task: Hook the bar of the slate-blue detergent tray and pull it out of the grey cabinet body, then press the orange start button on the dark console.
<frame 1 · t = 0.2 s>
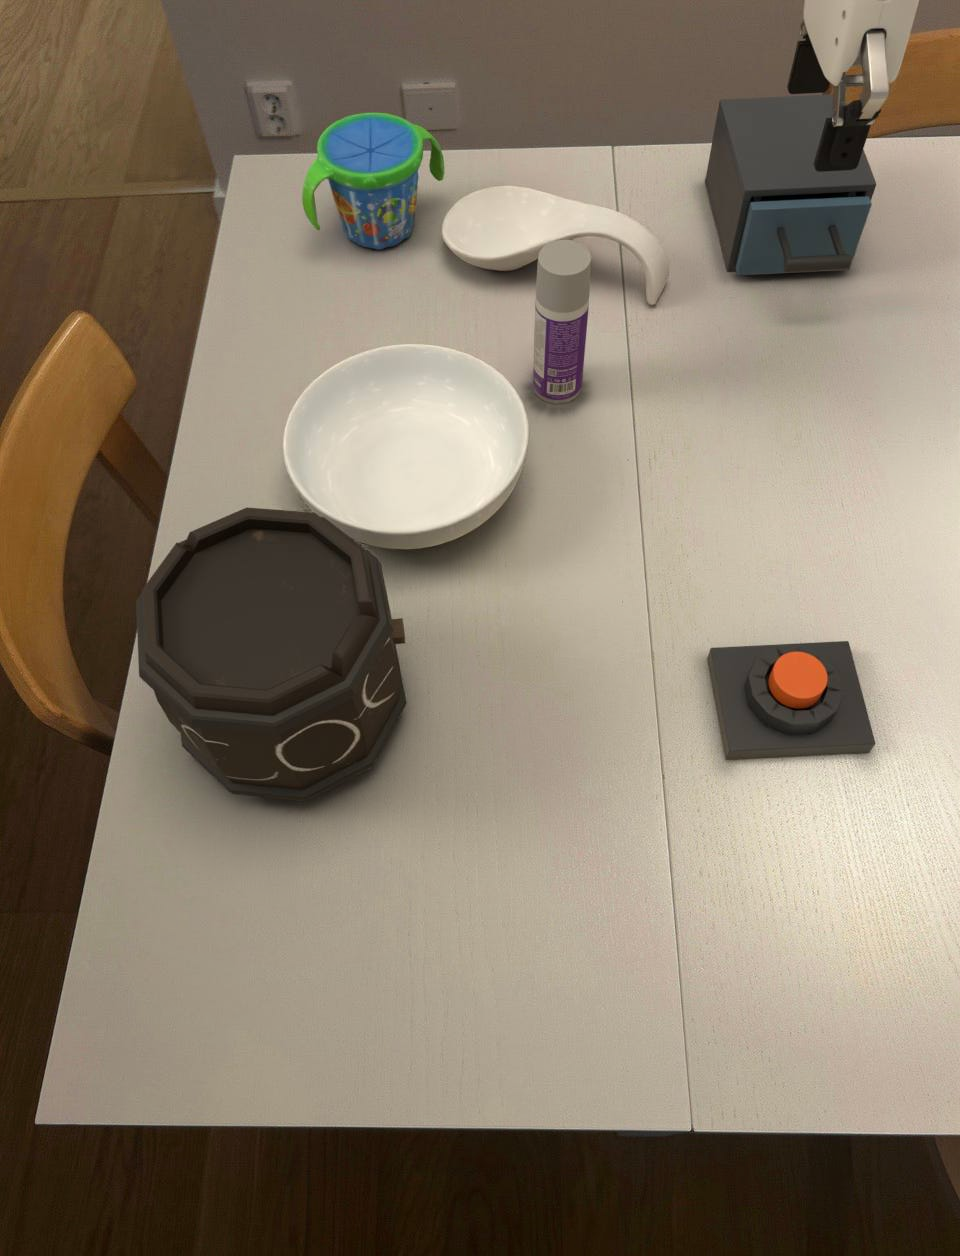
hand: (820, 128, 82), 24 cm above the table, tool pointing down, fingers open, 9 cm apart
console: (785, 704, 83), on the table
start button: (797, 680, 80), point 4 cm above the table, slide at 0.1 cm
grey cabinet body: (774, 222, 113), on the table
serving bowl: (412, 484, 96), on the table
container: (557, 387, 101), on the table
detergent tray: (794, 215, 106), point 5 cm above the table, slide at 0.5 cm
spoon rest: (553, 266, 110), on the table
dark grey faceted cylinder: (302, 707, 84), on the table
snack cup: (380, 230, 114), on the table
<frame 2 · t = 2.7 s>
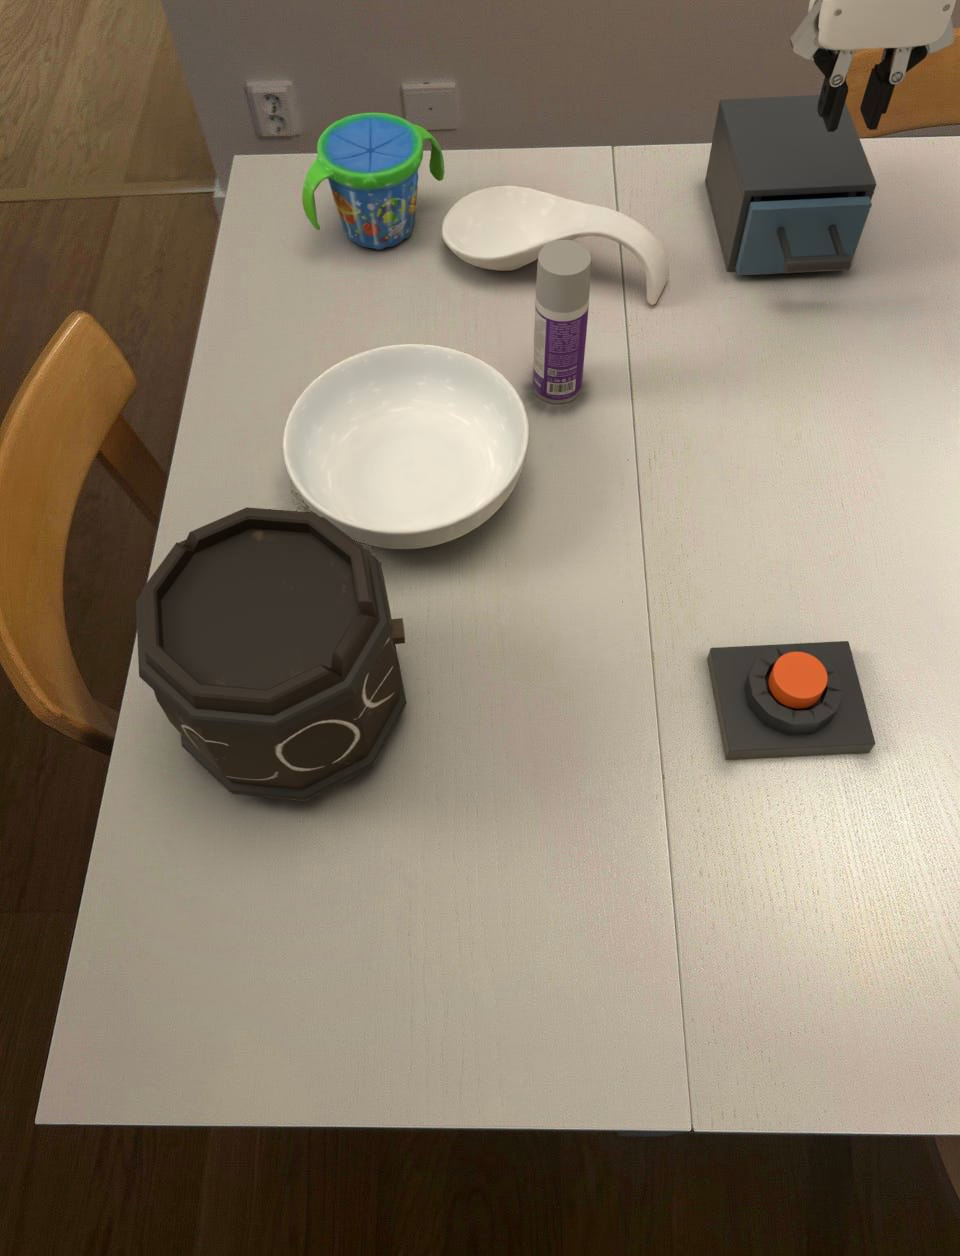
hand: (848, 119, 91), 19 cm above the table, tool pointing down, fingers closed
nothing on the table moved.
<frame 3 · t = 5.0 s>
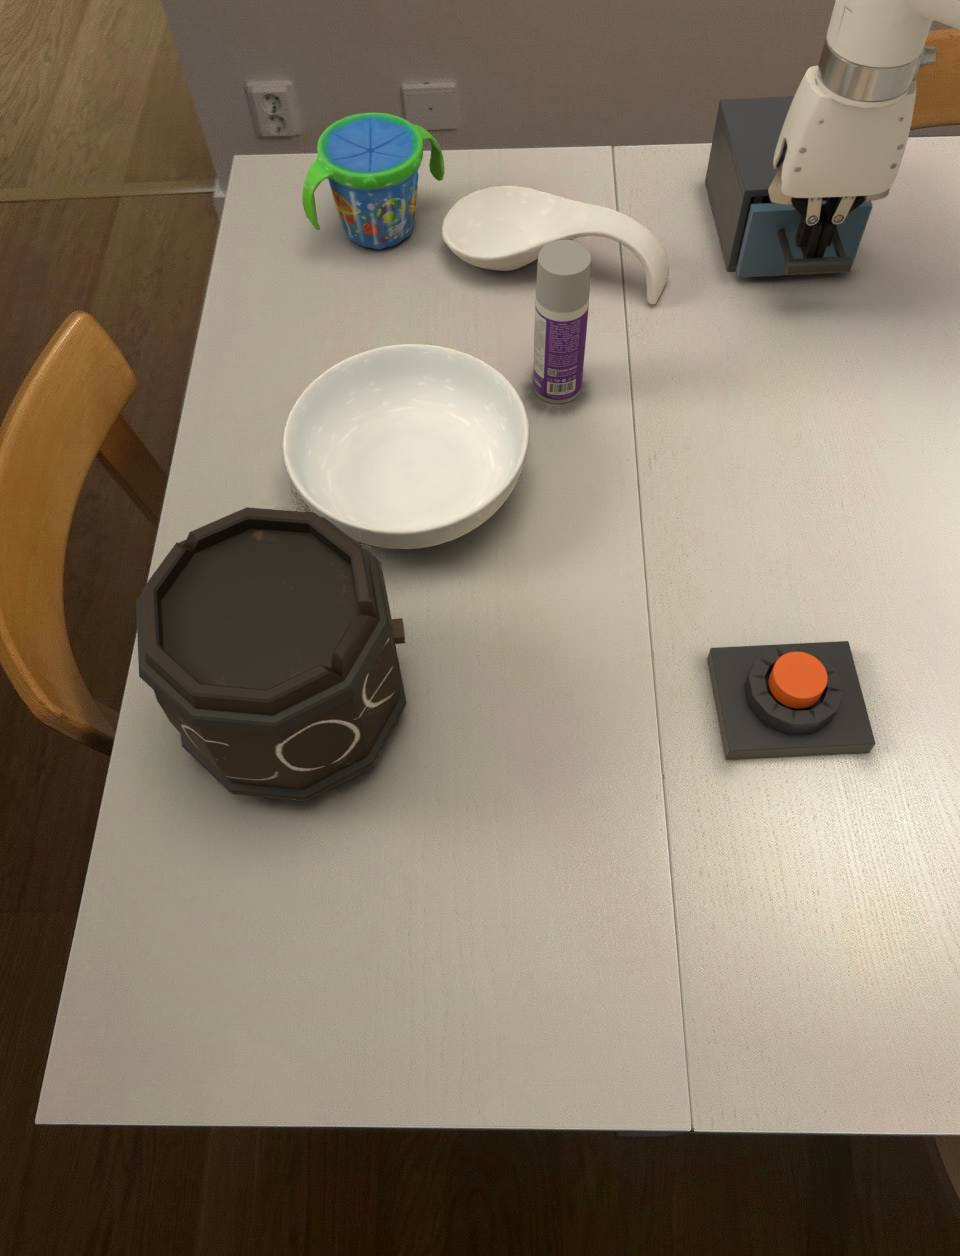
hand: (810, 250, 101), 6 cm above the table, tool pointing down, fingers closed
detergent tray: (795, 217, 106), point 5 cm above the table, slide at 0.8 cm
everything else where it was.
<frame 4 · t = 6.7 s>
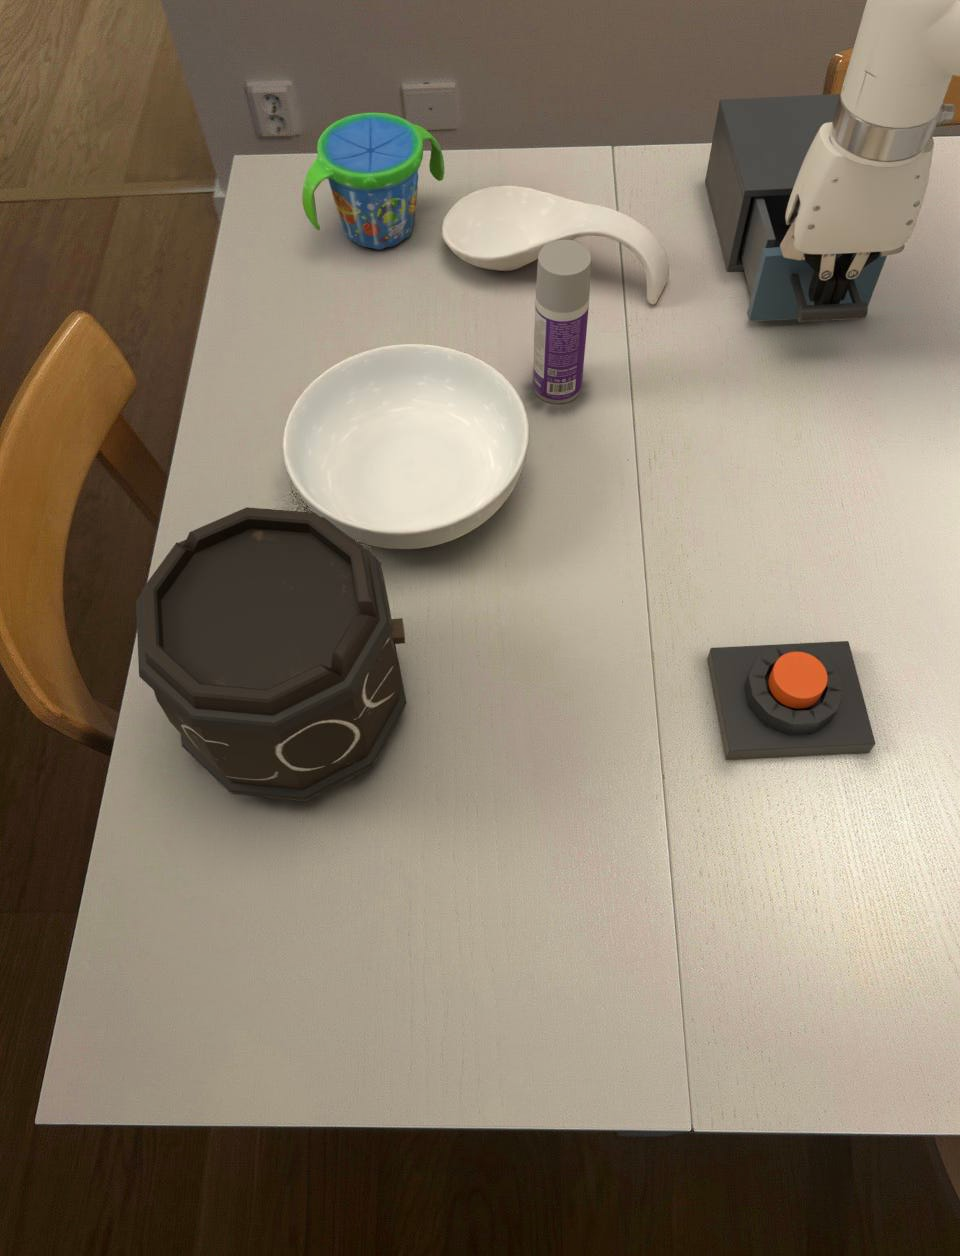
hand: (823, 304, 99), 5 cm above the table, tool pointing down, fingers closed
detergent tray: (808, 259, 103), point 5 cm above the table, slide at 7.1 cm, touching gripper
everything else where it was.
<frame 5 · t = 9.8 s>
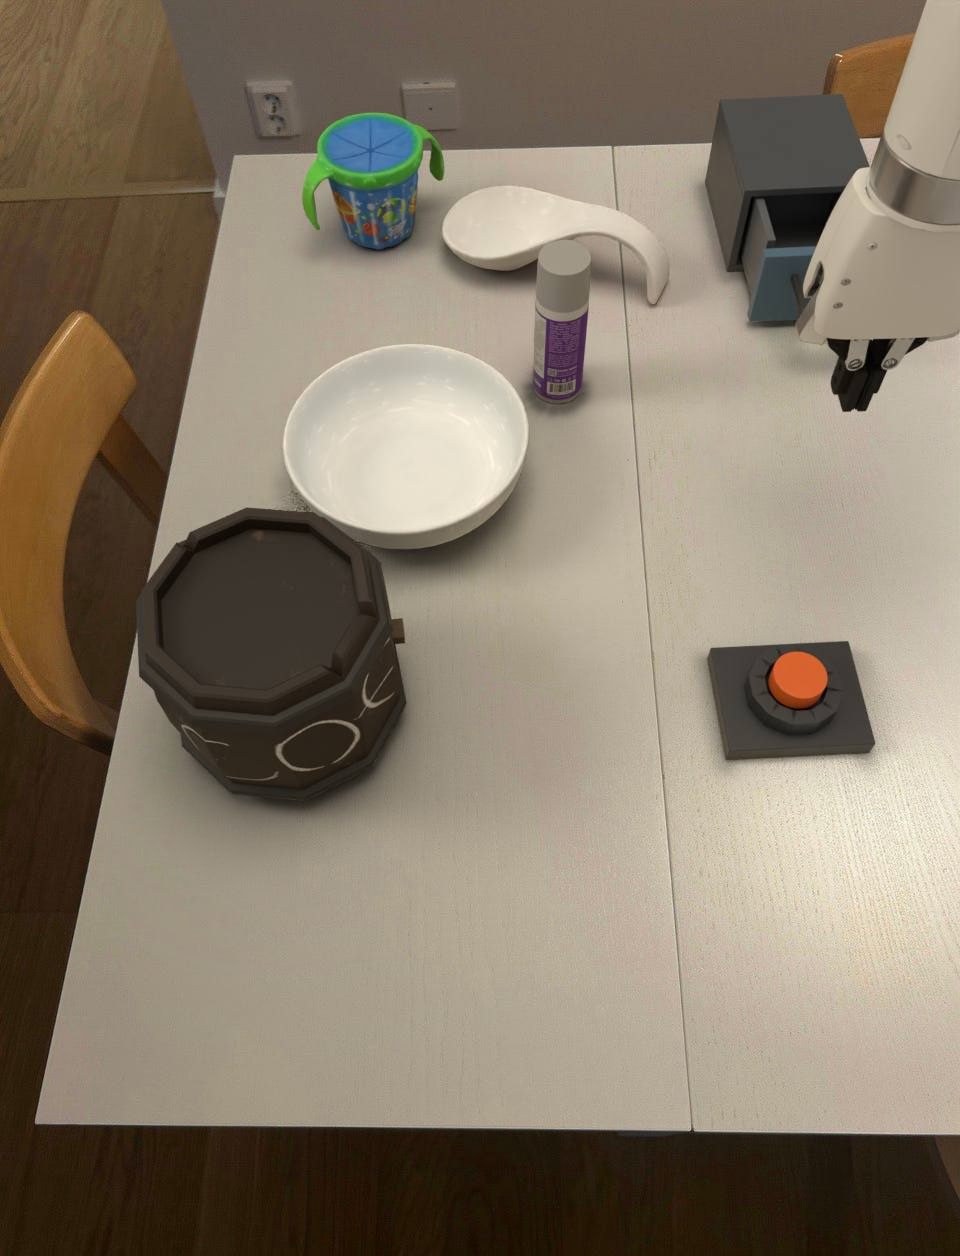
hand: (849, 397, 76), 18 cm above the table, tool pointing down, fingers closed
detergent tray: (808, 260, 103), point 5 cm above the table, slide at 7.2 cm
everything else where it was.
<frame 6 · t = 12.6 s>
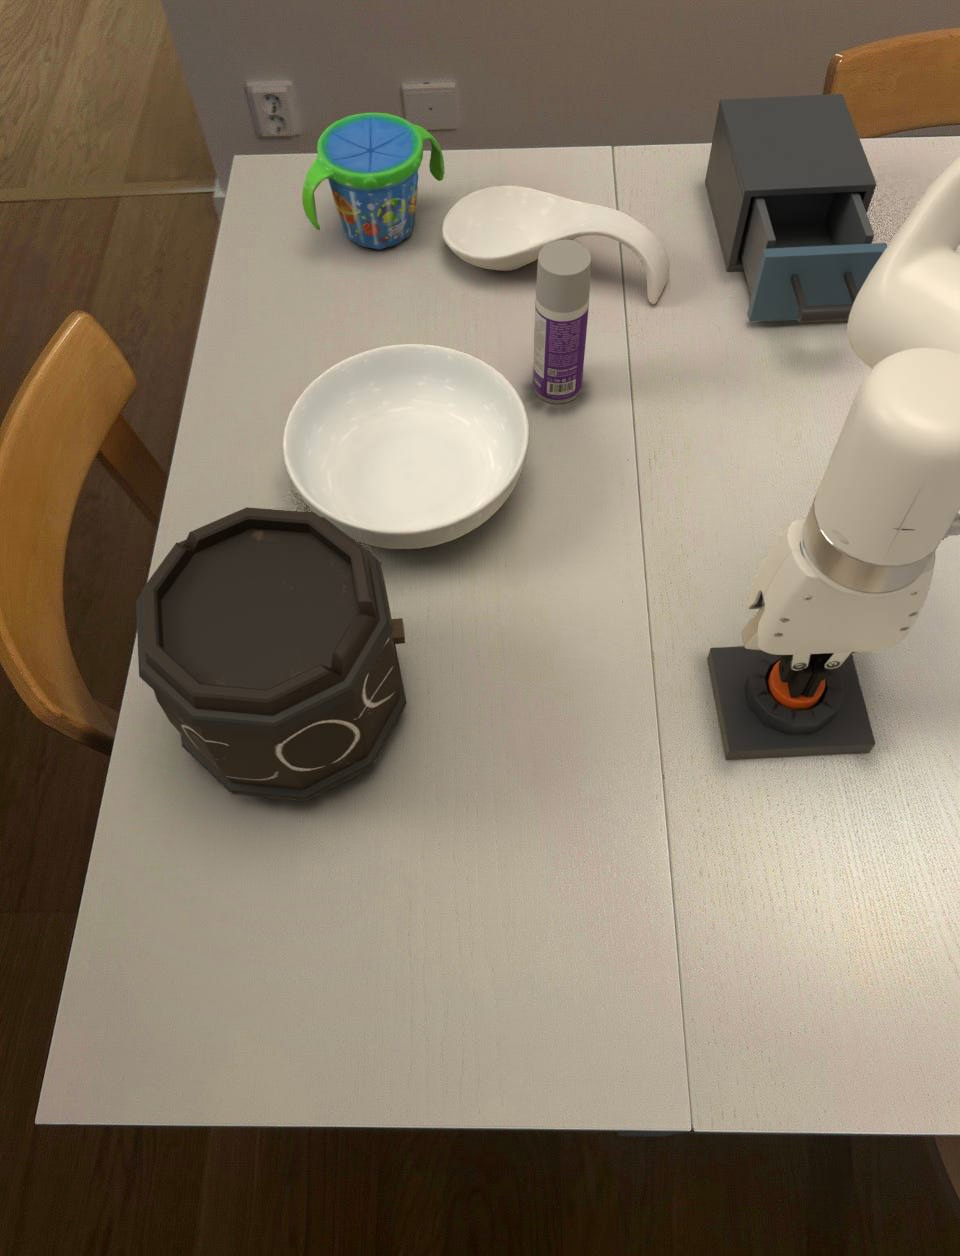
hand: (797, 679, 79), 4 cm above the table, tool pointing down, fingers closed
start button: (795, 684, 80), point 3 cm above the table, slide at -0.6 cm, touching gripper
everything else where it was.
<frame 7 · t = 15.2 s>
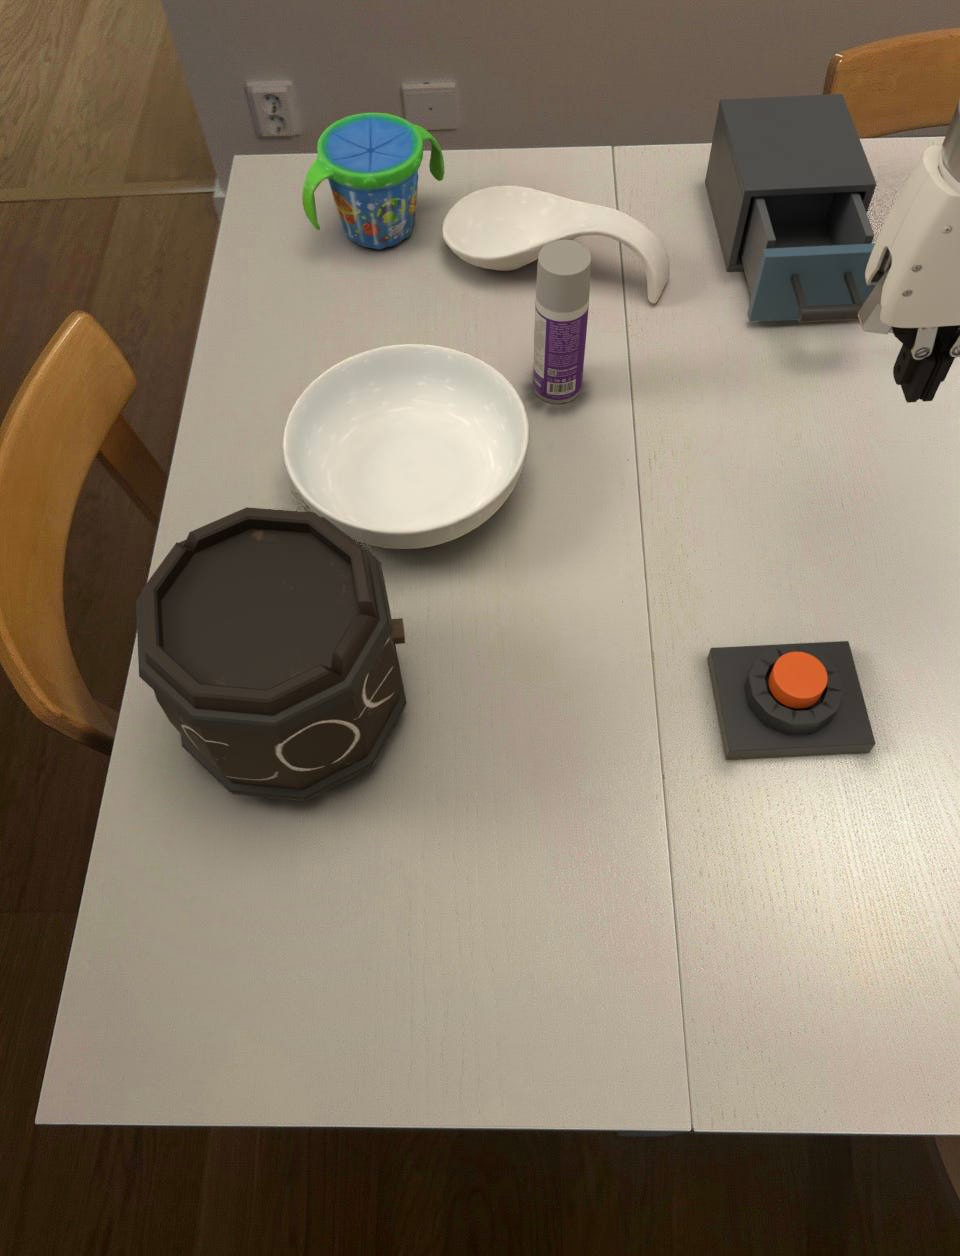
hand: (913, 386, 72), 21 cm above the table, tool pointing down, fingers closed
start button: (797, 680, 80), point 4 cm above the table, slide at 0.1 cm
everything else where it was.
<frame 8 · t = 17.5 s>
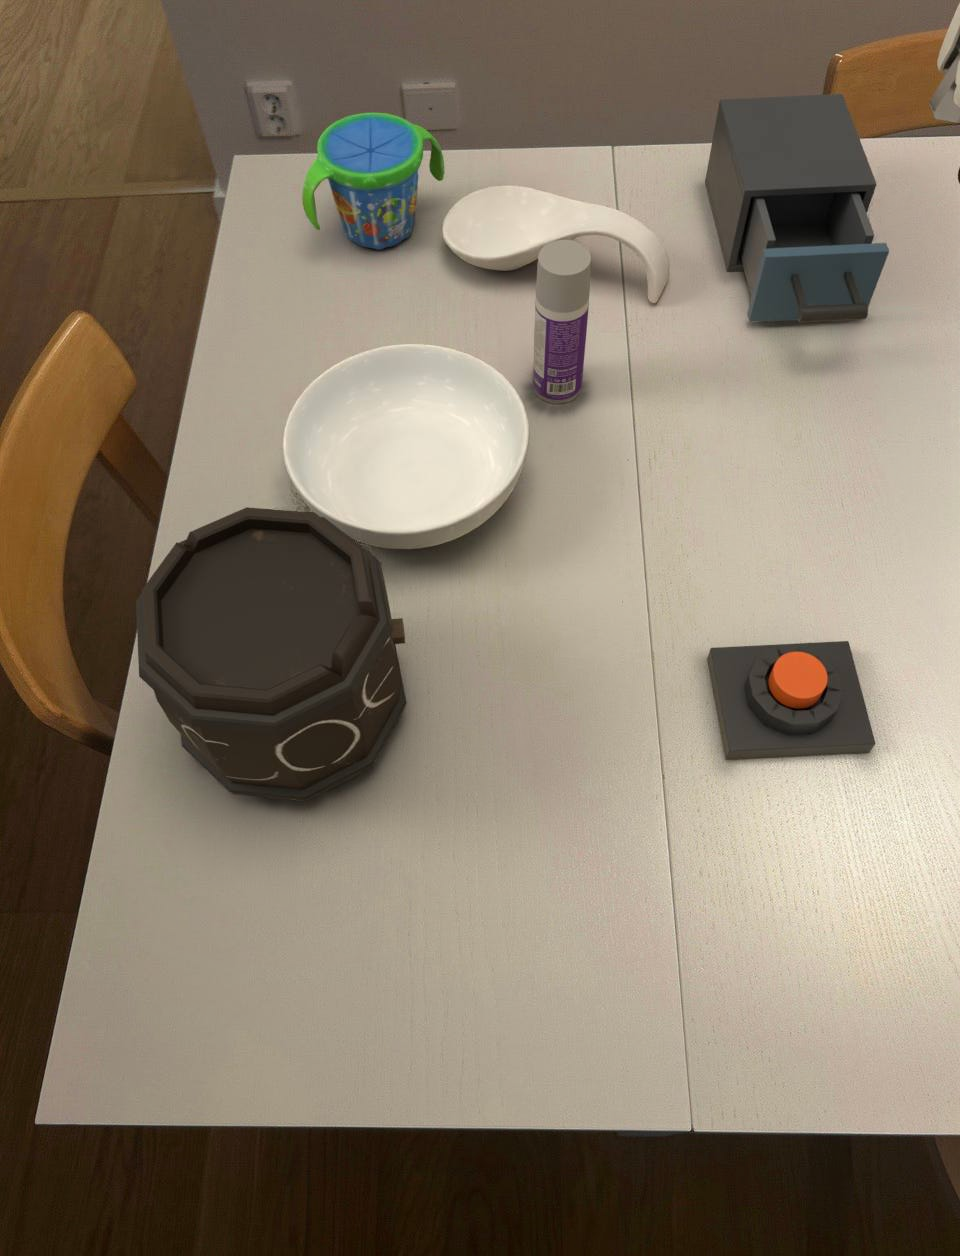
nothing on the table moved.
at the end: detergent tray slide at 7.2 cm; start button pushed in 1.1 cm at the most during the clip, back to where it started at the end; start button slide at 0.1 cm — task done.
